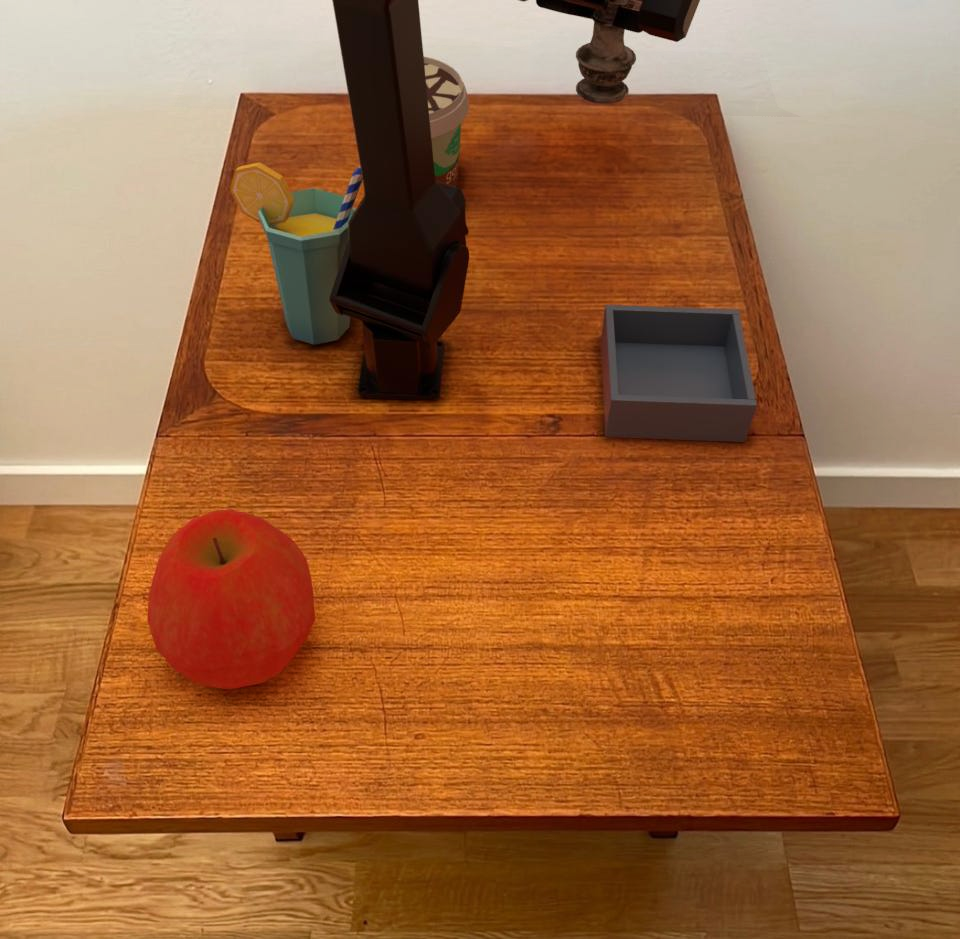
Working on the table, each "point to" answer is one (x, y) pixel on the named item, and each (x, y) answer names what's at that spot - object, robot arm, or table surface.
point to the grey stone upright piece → (604, 60)
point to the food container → (445, 117)
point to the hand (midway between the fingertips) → (615, 19)
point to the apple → (230, 600)
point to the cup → (301, 245)
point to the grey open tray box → (676, 374)
